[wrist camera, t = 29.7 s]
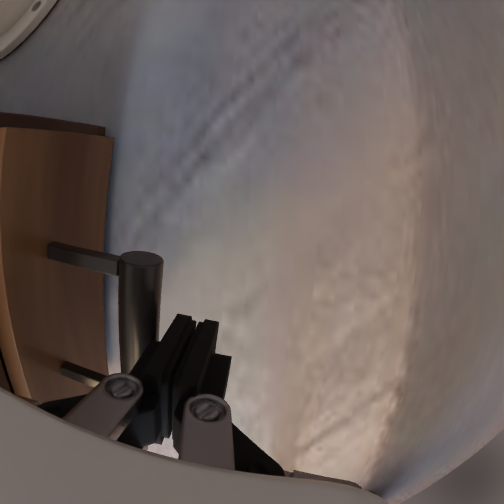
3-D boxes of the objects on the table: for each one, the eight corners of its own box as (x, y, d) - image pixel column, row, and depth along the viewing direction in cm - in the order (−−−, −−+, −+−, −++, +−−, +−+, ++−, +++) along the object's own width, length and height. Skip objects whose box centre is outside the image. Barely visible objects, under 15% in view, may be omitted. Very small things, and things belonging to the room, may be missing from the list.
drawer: (207, 146, 14) (143, 127, 6) (178, 401, 18) (144, 496, 11) (-32, 139, 14) (-109, 145, 6) (-22, 322, 18) (-78, 362, 11)
